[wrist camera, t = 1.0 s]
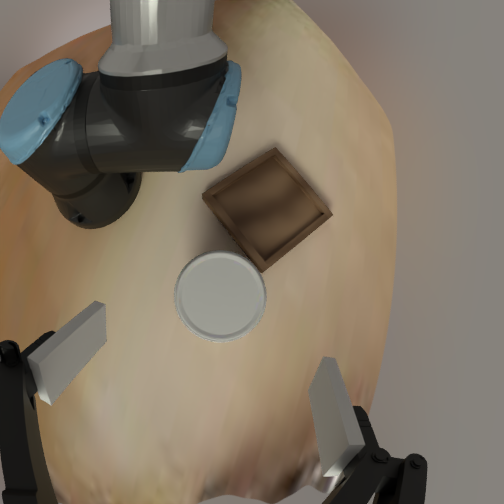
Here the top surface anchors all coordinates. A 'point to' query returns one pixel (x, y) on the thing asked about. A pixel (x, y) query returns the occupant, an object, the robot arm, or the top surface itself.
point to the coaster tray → (267, 208)
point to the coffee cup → (220, 296)
